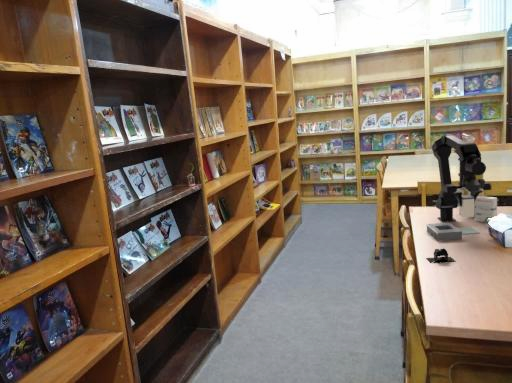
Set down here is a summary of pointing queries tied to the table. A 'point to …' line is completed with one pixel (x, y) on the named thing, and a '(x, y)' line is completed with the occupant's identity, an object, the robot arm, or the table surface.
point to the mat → (468, 231)
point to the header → (444, 231)
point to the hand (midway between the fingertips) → (466, 206)
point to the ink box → (485, 208)
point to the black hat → (440, 259)
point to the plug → (467, 206)
